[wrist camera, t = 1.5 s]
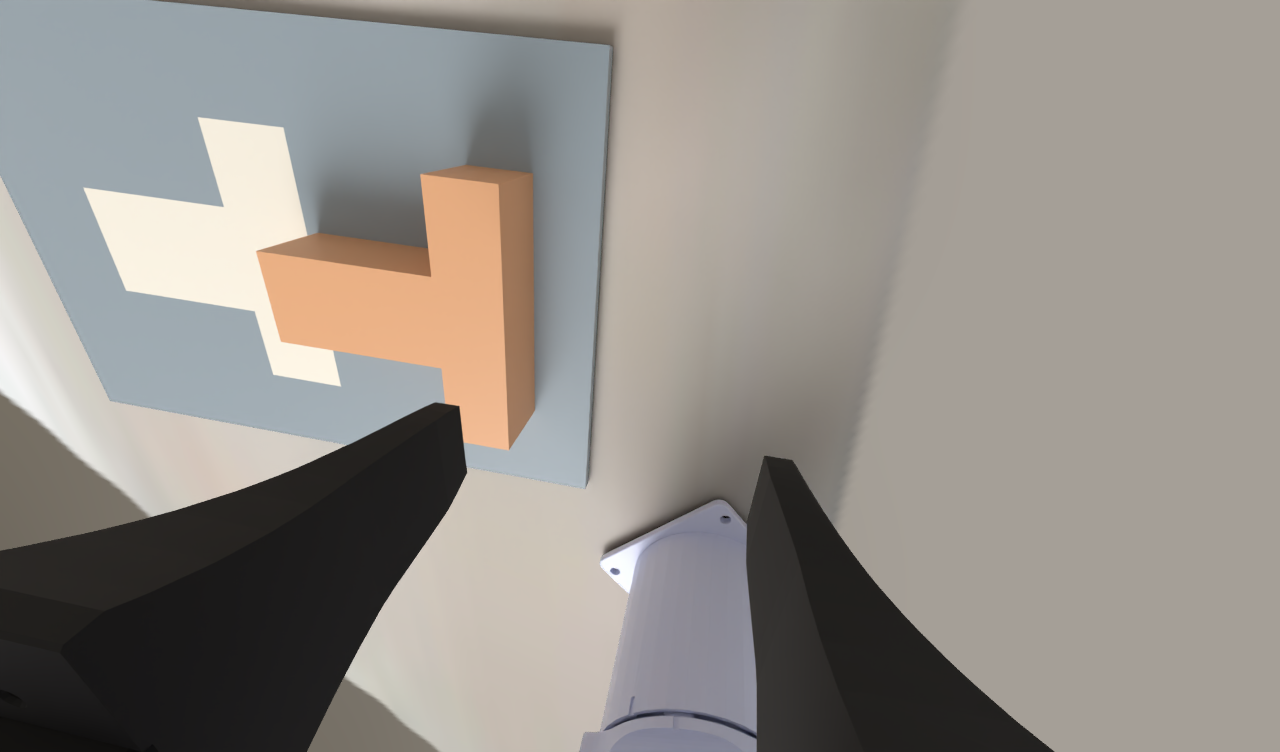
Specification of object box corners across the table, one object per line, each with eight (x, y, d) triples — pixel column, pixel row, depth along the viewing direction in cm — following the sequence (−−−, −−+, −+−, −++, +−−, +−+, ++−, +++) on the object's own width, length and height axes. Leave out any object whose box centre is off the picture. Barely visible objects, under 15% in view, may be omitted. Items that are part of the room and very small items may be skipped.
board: (613, 46, 16) (609, 45, 16) (587, 482, 25) (585, 489, 24) (-78, -21, 18) (-97, -24, 18) (120, 396, 27) (110, 400, 27)
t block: (532, 173, 18) (498, 184, 15) (534, 410, 22) (509, 450, 20) (298, 144, 19) (227, 149, 16) (348, 379, 23) (300, 412, 21)
